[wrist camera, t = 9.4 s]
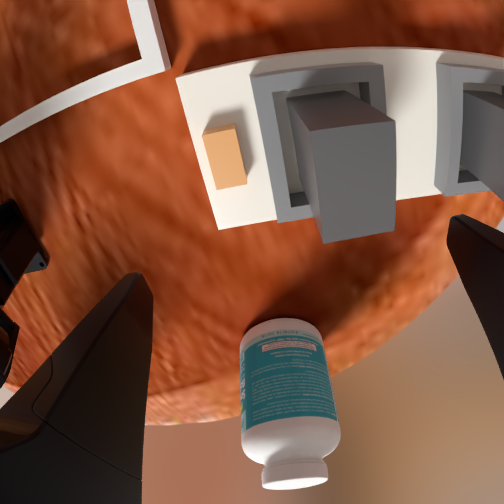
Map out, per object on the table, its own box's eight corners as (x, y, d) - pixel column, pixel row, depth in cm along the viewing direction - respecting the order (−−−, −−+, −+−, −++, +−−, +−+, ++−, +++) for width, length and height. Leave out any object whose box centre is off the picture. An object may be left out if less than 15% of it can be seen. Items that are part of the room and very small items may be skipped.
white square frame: (-14, 150, 16) (-26, 158, 15) (-51, 6, 8) (-65, 8, 7) (171, 68, 15) (165, 70, 14) (129, -110, 7) (121, -119, 6)
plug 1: (299, 178, 17) (322, 243, 12) (285, 97, 14) (309, 131, 10) (352, 169, 17) (394, 230, 12) (344, 90, 14) (395, 121, 9)
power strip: (220, 212, 21) (217, 245, 18) (182, 73, 15) (169, 82, 12) (497, 172, 19) (524, 195, 16) (504, 57, 13) (538, 68, 10)
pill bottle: (224, 330, 28) (221, 483, 17) (303, 301, 26) (331, 465, 15) (262, 369, 32) (270, 496, 21) (331, 346, 30) (357, 479, 19)
